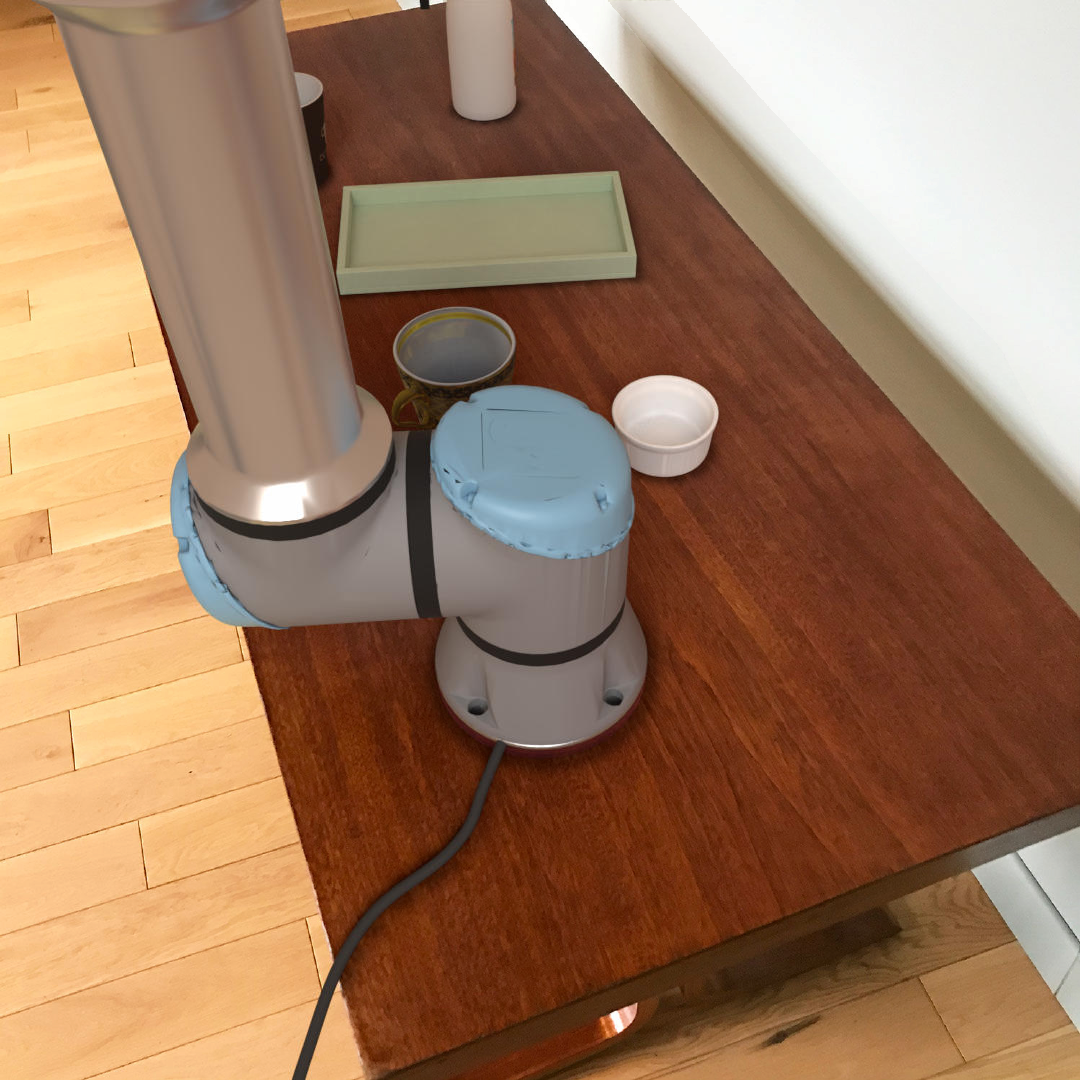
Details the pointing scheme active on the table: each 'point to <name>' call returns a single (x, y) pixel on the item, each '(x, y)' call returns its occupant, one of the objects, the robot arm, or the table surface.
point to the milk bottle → (481, 57)
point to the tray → (484, 233)
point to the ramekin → (665, 424)
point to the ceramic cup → (450, 360)
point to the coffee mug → (314, 122)
